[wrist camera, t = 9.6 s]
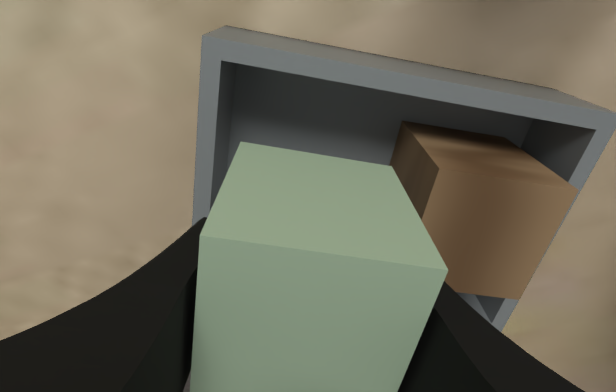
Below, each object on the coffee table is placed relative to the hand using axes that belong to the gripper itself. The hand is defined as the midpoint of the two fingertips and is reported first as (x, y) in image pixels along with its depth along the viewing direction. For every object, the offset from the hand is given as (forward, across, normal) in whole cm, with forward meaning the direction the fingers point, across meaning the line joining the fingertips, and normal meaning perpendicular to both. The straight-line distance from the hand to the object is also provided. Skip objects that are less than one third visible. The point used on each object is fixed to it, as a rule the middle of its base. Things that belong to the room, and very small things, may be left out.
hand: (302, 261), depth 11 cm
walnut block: (+7, -6, 0) cm, 9 cm away
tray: (+7, -3, 0) cm, 8 cm away
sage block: (+2, 0, 0) cm, 2 cm away
